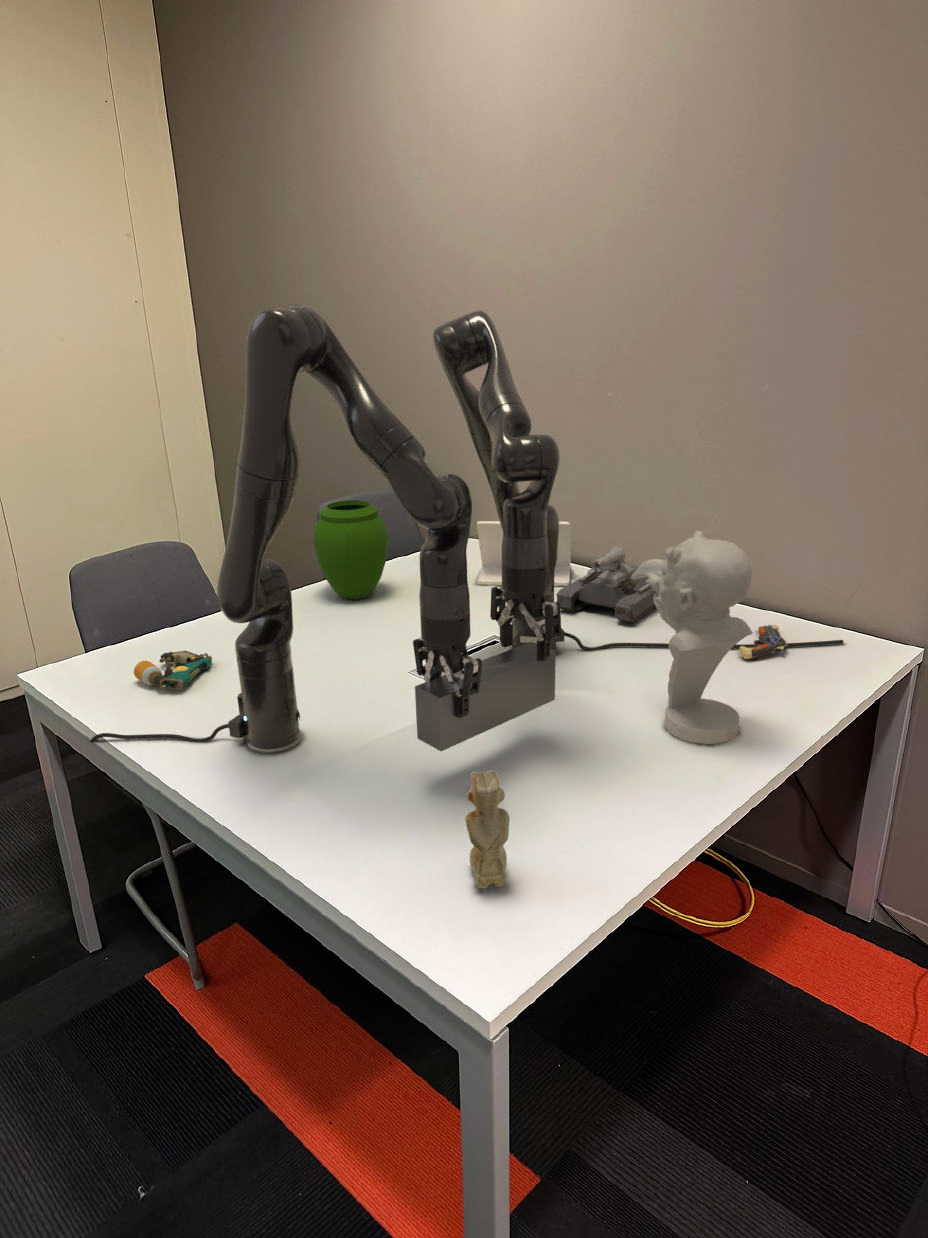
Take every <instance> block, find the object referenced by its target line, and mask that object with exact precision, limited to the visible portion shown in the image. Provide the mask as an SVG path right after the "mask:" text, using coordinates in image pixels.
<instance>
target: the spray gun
mask: <svg viewBox="0 0 928 1238" xmlns="http://www.w3.org/2000/svg"><path fill="white" fill-rule="evenodd" d="M212 660H213V657H212V656H211V655H208V653H207V652H205V653H201V654H197V653H194V652H192V651H191V652H190V651H188V650H180V651H169V652H164V653H162V654H161V655H160V658H159V660H158V662H159V663H161V664H163V663H165V664H166V668H165V670H163V672H164V674H163V673H162V669H160V668H159V666H157V665H156V664H154V663H152V662H151V661H149V660H141V661H139V662H138V663H136V665H135V666H134V668H133V675H134V677H135V678H136V679H137V680H139V681H140V682H142V683H143V684H145V685H147V686H155V685H157V686H158V687H160V688H161V689H171V690H172V689H173V690H182V689H184V687H185V686H186V685H188V684H189V683H190V682H191V681H192V679H193V678H195V677H196V676H197V675H198V674H200V673H201V672H202V671H203V670H206V669H208V668H209V667H210V666H211V665H212V662H213V661H212ZM178 663H179V664H181V665H179V666H176V665H177V664H178Z"/></svg>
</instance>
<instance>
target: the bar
mask: <svg viewBox="0 0 928 1238" xmlns="http://www.w3.org/2000/svg"><path fill="white" fill-rule="evenodd" d="M556 655H557V654H556V651H554V650H550V657H549V658H548V659H547V660H545V661H542V662H540V661H537V644H535V643H533V642H529V643H526V644H524V645H521V646H519V647H516V648H513V649H511V648H510V649H508V650H506V651H503V652H500V653H498V654H496V655H493V656H490V657H488V658H485V659H481V661H482V670H481V680H480V690H479V693H476V694H473V695H471V696H469V709H470V711H469V713H468V715H467V716H464V717H462V718H457V717H456V716H455V696H456V695H455V693H454V689H453V686H452V684H450V683H449V682H448V679H447V676H446V674H443V675H441V676H440V677H438V678H435V679H433V680H430V681H427V682H425V681H424V682H423V683H420V684H417V685H415V686H414V696H415V697H414V698H415V699H414V700H415V718H416V737H417V739H418V740H420V741H421V742H423V743H425V744H427V745H428V746H430V747H432V748H434V749H436V750H437V751H439V752H443V751H445V750H448V749H451V748H452V747H455V746H456V745H459V744H461V743H463V742H465V741H468V740H470V739H472V738H474V737H477V736H479V735H481V734H483V733H485V732H487V731H490V730H491V729H495V728H496V727H498V726H500V725H503V724H505V723H507V722H510V721H512V720H513V719H516V718H518V717H520V716H522V715H525V714H527V713H529V712H531V711H533V710H536V709H539V708H541V707H543V706H545V705H547V704H549V703H551V702H553V701H555V700H556ZM460 674H461V670H460V671H459V672H457V673H454V676H458V675H460ZM459 685H460V688H462V687H463V684H462V681H461V680H460V681H459ZM471 686H472V684H471Z"/></svg>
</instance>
